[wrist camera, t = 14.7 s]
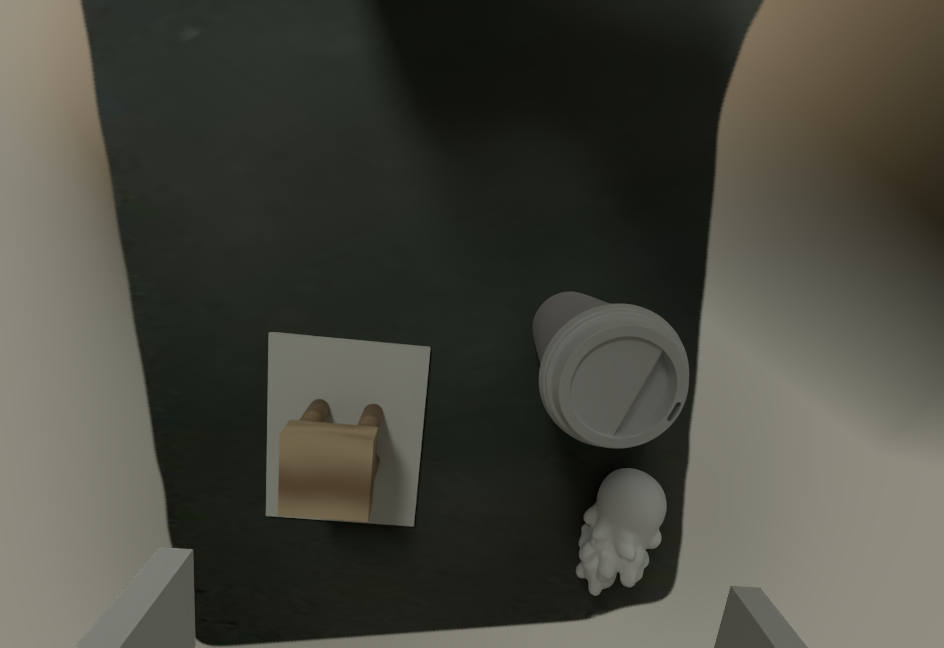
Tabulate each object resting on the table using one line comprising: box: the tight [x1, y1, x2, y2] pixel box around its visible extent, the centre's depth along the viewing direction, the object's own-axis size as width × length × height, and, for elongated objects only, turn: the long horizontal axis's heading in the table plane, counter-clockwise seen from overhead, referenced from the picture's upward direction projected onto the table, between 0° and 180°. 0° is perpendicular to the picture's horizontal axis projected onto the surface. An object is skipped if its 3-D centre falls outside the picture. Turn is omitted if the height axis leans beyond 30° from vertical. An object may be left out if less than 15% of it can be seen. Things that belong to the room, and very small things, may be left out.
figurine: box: [576, 468, 666, 596], centre depth 46 cm, size 7×7×12 cm
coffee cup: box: [532, 292, 689, 448], centre depth 37 cm, size 10×10×15 cm
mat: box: [266, 332, 431, 527], centre depth 46 cm, size 18×14×1 cm
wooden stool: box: [278, 399, 383, 522], centre depth 42 cm, size 7×7×8 cm
